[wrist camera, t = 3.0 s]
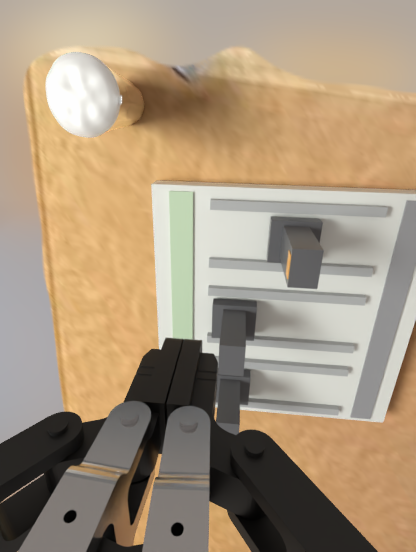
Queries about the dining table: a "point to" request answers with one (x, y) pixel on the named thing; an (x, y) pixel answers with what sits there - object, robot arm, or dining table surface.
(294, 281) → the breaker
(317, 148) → the dining table surface
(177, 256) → the panel
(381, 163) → the dining table surface
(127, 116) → the milkshake
